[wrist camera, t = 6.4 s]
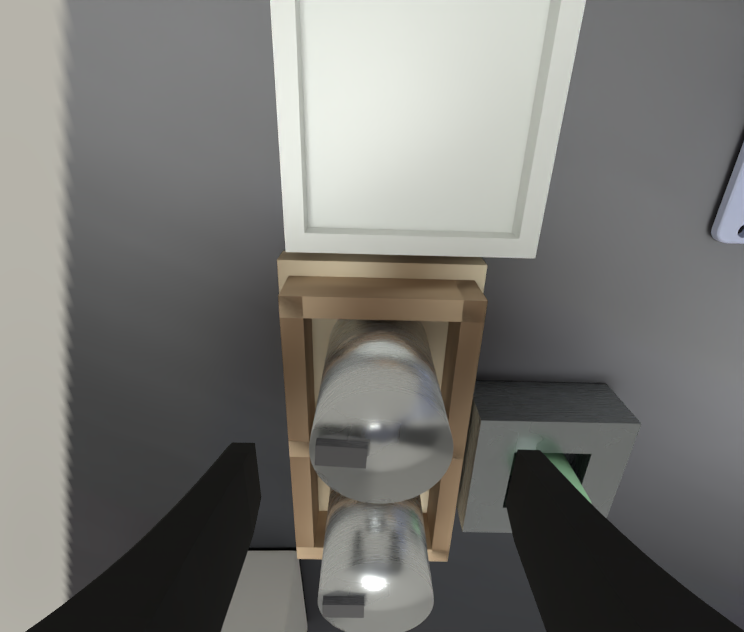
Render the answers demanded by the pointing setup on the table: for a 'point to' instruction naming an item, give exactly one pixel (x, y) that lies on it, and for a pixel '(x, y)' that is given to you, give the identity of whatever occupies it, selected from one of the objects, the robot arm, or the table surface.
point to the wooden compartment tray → (378, 302)
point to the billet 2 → (375, 566)
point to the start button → (562, 470)
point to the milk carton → (268, 595)
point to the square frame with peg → (541, 443)
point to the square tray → (420, 122)
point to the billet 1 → (380, 413)
